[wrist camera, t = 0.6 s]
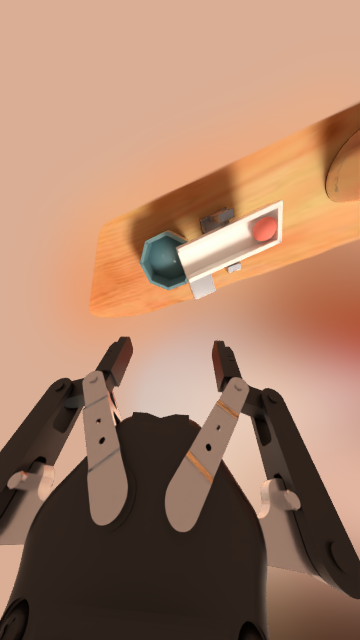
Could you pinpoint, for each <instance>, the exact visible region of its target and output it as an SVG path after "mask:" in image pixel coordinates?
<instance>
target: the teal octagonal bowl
mask: <svg viewBox="0 0 360 640" xmlns="http://www.w3.org/2000/svg"><path fill="white" fill-rule="evenodd" d="M187 242H188V239H186V238H184V237H182V236H181V235H179V234H177V233H174V232H172V231H170V230H167V231H165V232H163V233H161V234H158V235H156V236H154V237H152V238H150V239H148V240H147V241H145V244H144V248H143V252H142V257H141V261H140V265H141V267H142V269H143V271H144V272H145V274H146V276H147V278H148V280H149V282H150V283H152V284H154V285H157V286H159V287H162V288H164V289H167V290H170V289H173V288H176V287H179V286H181V285H184V284H186V283H187V281H188V280H187V277H186V274H185V272H184V269H183V266H182V264H181V261H180V258H179V256H178V253H177V250H176V247H178V246H180V245H182V244H184V243H187Z"/></svg>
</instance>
